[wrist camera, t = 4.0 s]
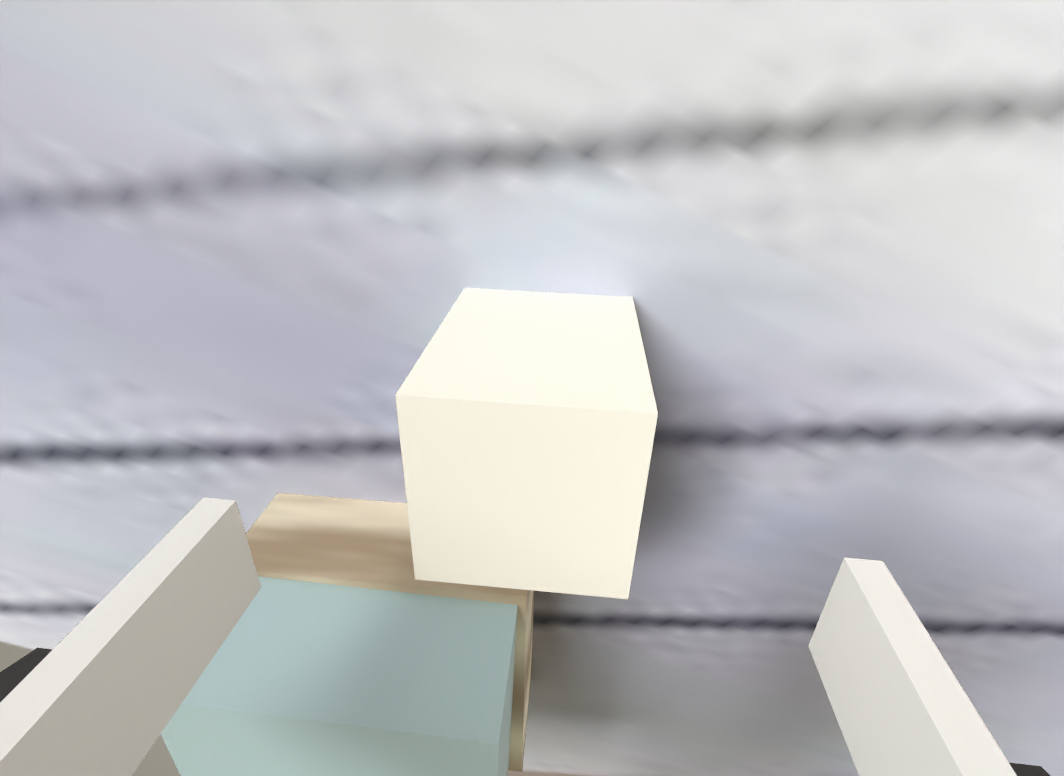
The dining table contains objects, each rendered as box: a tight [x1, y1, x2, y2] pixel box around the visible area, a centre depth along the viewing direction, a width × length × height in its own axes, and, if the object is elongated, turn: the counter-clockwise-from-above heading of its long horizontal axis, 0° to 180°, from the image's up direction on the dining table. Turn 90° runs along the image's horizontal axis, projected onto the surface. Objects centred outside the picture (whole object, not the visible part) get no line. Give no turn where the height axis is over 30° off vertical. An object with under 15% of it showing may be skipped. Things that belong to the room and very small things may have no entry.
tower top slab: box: [161, 576, 518, 776], centre depth 21 cm, size 11×11×5 cm
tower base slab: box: [246, 493, 534, 771], centre depth 26 cm, size 12×12×5 cm
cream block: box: [395, 288, 658, 599], centre depth 17 cm, size 6×6×8 cm
